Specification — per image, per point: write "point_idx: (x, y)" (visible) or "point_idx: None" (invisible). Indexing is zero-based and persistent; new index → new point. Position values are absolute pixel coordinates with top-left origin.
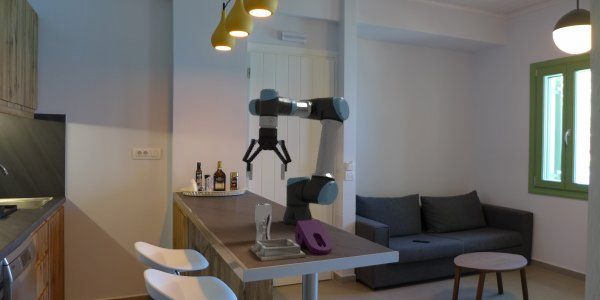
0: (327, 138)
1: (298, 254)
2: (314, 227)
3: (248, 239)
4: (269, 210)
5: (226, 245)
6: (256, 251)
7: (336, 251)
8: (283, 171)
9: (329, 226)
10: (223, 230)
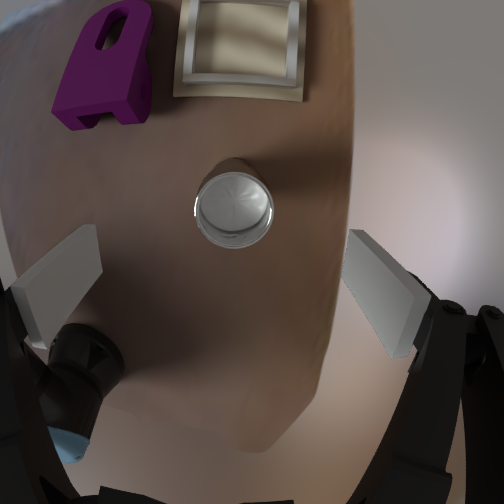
0: None
1: None
2: (89, 72)
3: None
4: (217, 170)
5: (349, 166)
6: (302, 48)
7: None
8: (59, 251)
9: None
10: (301, 329)
